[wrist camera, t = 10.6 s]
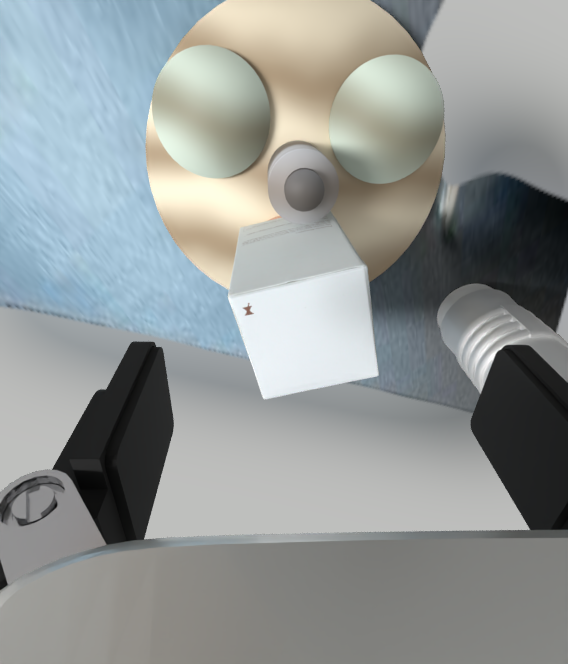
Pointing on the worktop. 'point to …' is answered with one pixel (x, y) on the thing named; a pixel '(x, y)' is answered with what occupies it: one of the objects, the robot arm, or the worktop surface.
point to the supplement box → (302, 306)
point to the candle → (494, 331)
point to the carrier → (295, 129)
